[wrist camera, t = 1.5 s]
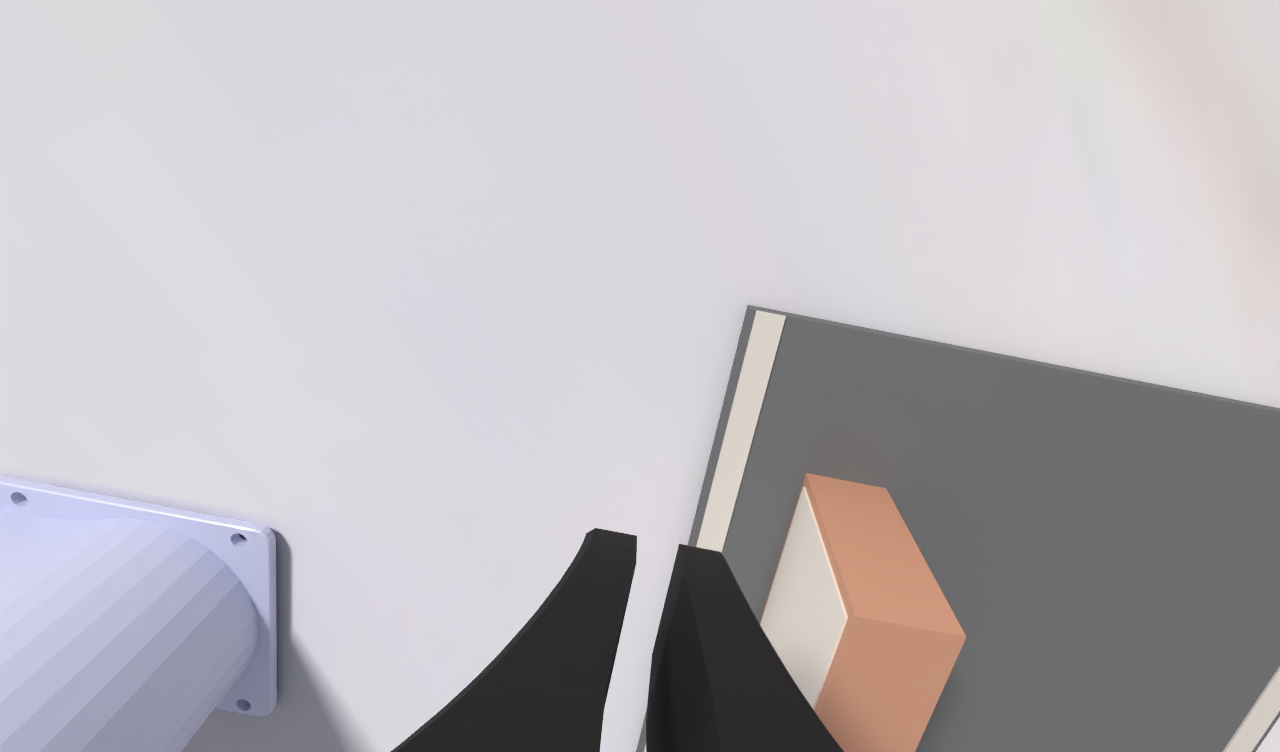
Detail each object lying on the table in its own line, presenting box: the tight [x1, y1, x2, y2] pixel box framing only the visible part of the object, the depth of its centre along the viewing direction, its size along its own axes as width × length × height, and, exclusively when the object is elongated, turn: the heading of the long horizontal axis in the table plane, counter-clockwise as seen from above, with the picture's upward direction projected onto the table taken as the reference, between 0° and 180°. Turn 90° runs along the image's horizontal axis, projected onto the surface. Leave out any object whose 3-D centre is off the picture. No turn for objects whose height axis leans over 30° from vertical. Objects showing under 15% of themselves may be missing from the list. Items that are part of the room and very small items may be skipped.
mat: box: [636, 305, 1280, 752], centre depth 22 cm, size 20×18×1 cm
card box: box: [760, 473, 966, 752], centre depth 19 cm, size 2×9×6 cm, turn 169°
